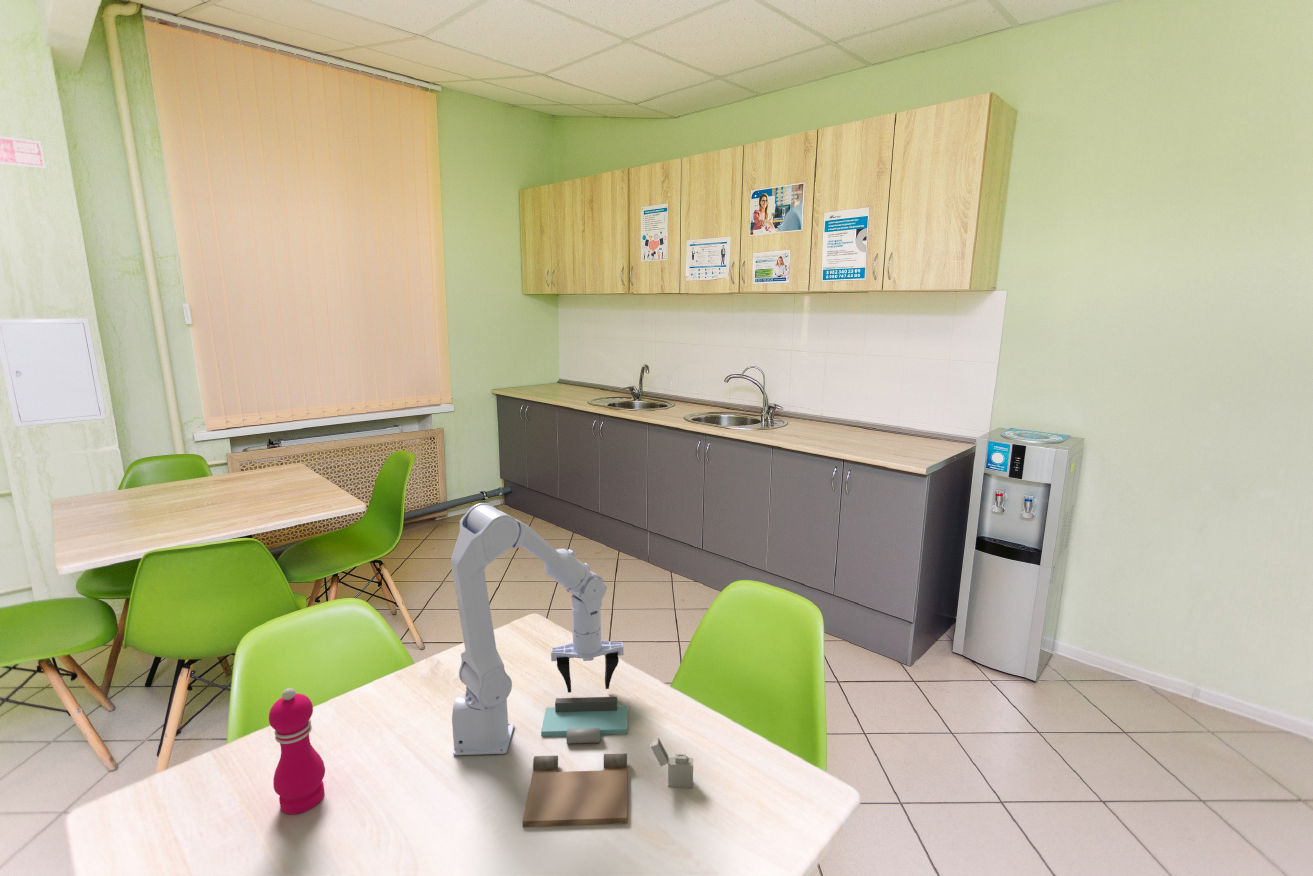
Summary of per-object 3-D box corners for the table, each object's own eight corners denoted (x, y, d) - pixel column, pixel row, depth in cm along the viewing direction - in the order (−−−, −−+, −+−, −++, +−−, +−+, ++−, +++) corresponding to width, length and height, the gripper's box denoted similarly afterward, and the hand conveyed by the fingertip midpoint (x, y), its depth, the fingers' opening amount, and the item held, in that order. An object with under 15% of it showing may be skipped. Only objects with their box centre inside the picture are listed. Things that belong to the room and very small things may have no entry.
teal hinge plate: (539, 747, 113) (538, 732, 112) (546, 712, 123) (545, 698, 122) (627, 744, 113) (627, 730, 113) (627, 710, 123) (627, 696, 123)
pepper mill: (275, 824, 96) (258, 708, 92) (278, 792, 102) (262, 683, 98) (327, 807, 99) (313, 695, 95) (327, 777, 105) (314, 671, 101)
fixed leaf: (522, 826, 95) (522, 813, 95) (535, 765, 108) (534, 753, 108) (627, 823, 96) (626, 810, 96) (627, 762, 109) (627, 750, 108)
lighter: (693, 780, 105) (693, 738, 103) (692, 788, 103) (693, 745, 101) (651, 778, 105) (651, 736, 104) (650, 785, 104) (650, 743, 102)
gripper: (550, 640, 120) (552, 703, 123) (624, 634, 122) (625, 696, 125) (550, 622, 127) (552, 682, 129) (621, 617, 129) (621, 676, 132)
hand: (588, 688), depth 128 cm, fingers open, 7 cm apart
